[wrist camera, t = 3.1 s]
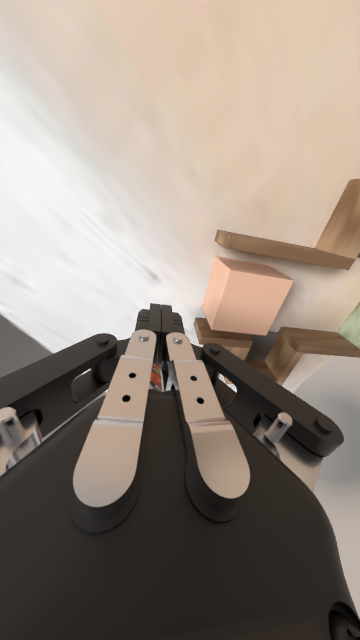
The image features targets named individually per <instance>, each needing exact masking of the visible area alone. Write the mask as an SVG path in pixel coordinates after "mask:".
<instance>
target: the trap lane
mask: <svg viewBox="0 0 360 640" xmlns="http://www.w3.org/2000/svg"><path fill="white" fill-rule="evenodd" d="M215 241H216V242H218V243H219V244H221V245H222V246H224V247H225V248H227V249H233V250H238V251H244V252H250V253H255V254H261V255H267V256H272V257H278V258H284V259H289V260H295V261H301V262H306V263H312V264H318V265H323V266H329V267H335V268H340V269H346V270H349V268H350V267H351V265H352V264H353V262H354V261H355V259H356V257H360V179H354V180H350V181H349V183H348V185H347V187H346V189H345V190H344V192H343V194H342V196H341V198H340V200H339V202H338V204H337V206H336V208H335V210H334V212H333V214H332V216H331V218H330V220H329V222H328V224H327V226H326V227H325V229H324V231H323V233H322V235H321V237H320V239H319V241H318V243H317V245H316V247H315V248H309V247H304V246H299V245H294V244H289V243H283V242H278V241H273V240H268V239H263V238H257V237H252V236H247V235H242V234H237V233H231V232H226V231H221V230H217V234H216V238H215ZM194 327H195V330H196V334H197V337H198V341H199V344H206V343H216V344H219V345H221V346H224V348H225V349H227V350H228V351H230V352H231V353H233V354H234V355H236V356H237V357H239V358H240V359H242V360H243V361H245V362H246V363H248V364H249V365H251V366H252V367H254V368H255V369H257V370H258V371H260V372H261V373H263V374H264V375H266V376H267V377H269V378H270V379H272V380H273V381H275V382H276V383H278V384H279V385H281V386H282V385H283V383H284V381H285V380H286V378H287V377H288V375H289V374H290V372H291V371H292V369H293V368H294V366H295V365H296V363H297V362H298V360H299V359H300V357H301V356H302V354H303V353H312V354H324V355H336V356H349V357H360V303H359V304H358V306H357V307H356V308H355V310H354V311H353V312H352V314H351V315H350V316H349V318H348V319H347V321H346V322H345V323H344V325H343V326H342V327H341V329H340V330H339V331H338V333H335V332H325V331H316V330H307V329H297V328H288V327H281V329H280V331H279V332H278V333H275V332H268V333H267V335H257V334H247V333H238V332H228V331H219V330H211V328H210V325H209V323H208V320H207V319H204V318H195V322H194ZM224 379H225V382H226V384H233V383H232V382H231V381H229V380H228V379H227V378H226V377H224Z"/></svg>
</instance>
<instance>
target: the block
mask: <svg viewBox="0 0 360 640" xmlns="http://www.w3.org/2000/svg"><path fill="white" fill-rule="evenodd" d="M293 282H294V280H292V279H290V278H289V277H287V276H285V275H283V274H282V273H280V272H278V271H276V270H274V269H273V268H271V267H269V266H267V265H261V264H256V263H250V262H244V261H239V260H233V259H227V258H222V257H215V261H214V264H213V268H212V272H211V275H210V279H209V283H208V286H207V290H206V294H205V298H204V301H203V305H202V308H203V311H204V313H205V316H206V318H207V320H208V323H209V325H210V328H211V330H219V331H228V332H238V333H247V334H257V335H267V333H268V331H269V329H270V327H271V325H272V323H273V321H274V319H275V317H276V315H277V313H278V311H279V309H280V307H281V305H282V303H283V301H284V300H285V298H286V296H287V294H288V292H289V290H290V288H291V286H292V284H293Z"/></svg>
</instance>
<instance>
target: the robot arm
mask: <svg viewBox="0 0 360 640" xmlns="http://www.w3.org/2000/svg"><path fill="white" fill-rule="evenodd" d="M157 355H158V363H161V372H160V374H161V383H162V392H160V391H156V390H152V389H149V388H150V381H151V374H152V369H153V367H154V362H157ZM90 368H91V370H90V371H88V372H87V373H85V374H83V375H82V376H80V377H78V378H77V379H75V377H77V376H78V375H80V374H82V373H83V372H85V371H87V370H88V369H90ZM219 374H222V375H223V376H224V377H226V378H227V379H228V380H229V381H231V382H232V383H233V384H234V385H235V386H236V388H237V393H236V392H235V391H233V390H232V389H231V388H230V387H228V386H227V385H226V384H225V383H223V382H222V381H221V380H220V379H219V378H218V377H219ZM74 379H75V380H74ZM73 380H74V381H73ZM108 388H109V389H108ZM107 389H108V391H107V394H106V395H105V396H103V397H101V398H99V399H97V400H95V401H94V402H92V403H91V404H89V405H88V406H87V407H86V408H85V409H83V410H82V411H81V412H79V413H78V414H77V415H76V416H74V417H73V418H72V419H71V420H70V421H68V422H67V423H66V424H65V425H63V426H62V427H61V428H59V429H58V430H57V431H56V432H55V433H53V434H52V435H51V436H50V437H48V438H47V439H46V440H45V441H43V442H42V438H43V437H44V436H46V435H47V434H48V433H50V432H51V431H52V430H54V429H55V428H56V427H58V426H59V425H60V424H62V423H63V422H64V421H66V420H67V419H68V418H70V417H71V416H72V415H74V414H75V413H76V412H78V411H79V410H80V409H82V408H83V407H84V406H86V405H87V404H88V403H90V402H91V401H92V400H94V399H95V398H96V397H98V396H99V395H100V394H102V393H103V392H104V391H106V390H107ZM343 441H344V437H343V434H342V432H341V430H340V429H339V427H338V426H337V425H336V424H335V423H334V422H333V421H332V420H331V419H330V418H328V417H327V416H325V415H324V414H322V413H321V412H319V411H318V410H316V409H315V408H313V407H312V406H310V405H309V404H308V403H306V402H305V401H303V400H302V399H300V398H299V397H297V396H296V395H294V394H293V393H291V392H290V391H288V390H287V389H285V388H284V387H282V386H281V385H279V384H278V383H276V382H275V381H273V380H272V379H270V378H269V377H267V376H266V375H264V374H263V373H261V372H260V371H258V370H257V369H255V368H254V367H252V366H251V365H249V364H248V363H246V362H245V361H243V360H242V359H240V358H239V357H237V356H236V355H234V354H233V353H231V352H230V351H228V350H227V349H225V348H224V347H222V346H221V345H219V344H216V343H206V344H204V346H203V348H202V347H199V346H196V345H193V344H191V343H190V340H189V338H188V337H187V336H186V335H185V332H184V328H183V323H182V318H181V316H180V315H179V314H178V313H174V312H172V307H171V306H170V305H161V304H152V303H150V310H146V309H142V310H141V311H140V312H139V313H138V318H137V323H136V328H135V332H133V333H132V336H131V337H130V338H128V339H125V340H119V341H117V339H116V337H115V336H113V335H111V334H106V333H102V334H97V335H94V336H92V337H90V338H87V339H85V340H83V341H81V342H79V343H76V344H74V345H72V346H70V347H68V348H65V349H63V350H61V351H59V352H57V353H54V354H52V355H50V356H48V357H46V358H43V359H41V360H39V361H37V362H35V363H32V364H30V365H28V366H26V367H24V368H22V369H19V370H17V371H15V372H13V373H10V374H8V375H6V376H4V377H2V378H0V640H360V618H359V616H358V614H357V611H356V609H355V606H354V603H353V601H352V598H351V595H350V592H349V589H348V586H347V583H346V580H345V577H344V573H343V569H342V566H341V562H340V557H339V552H338V547H337V542H336V538H335V535H334V532H333V528H332V526H331V523H330V521H329V519H328V517H327V515H326V513H325V511H324V509H323V507H322V505H321V504H320V502H319V501H318V499H317V498H316V496H315V495H314V493H313V491H314V488H315V484H316V481H317V477H318V474H319V470H320V467H321V463H322V461H323V460H324V459H325V458H326V457H327V456H329V455H330V454H331V453H332V452H333V451H334V450H335V449H336V448H337V447H339V445H341V444H342V443H343ZM41 442H42V443H41Z"/></svg>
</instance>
